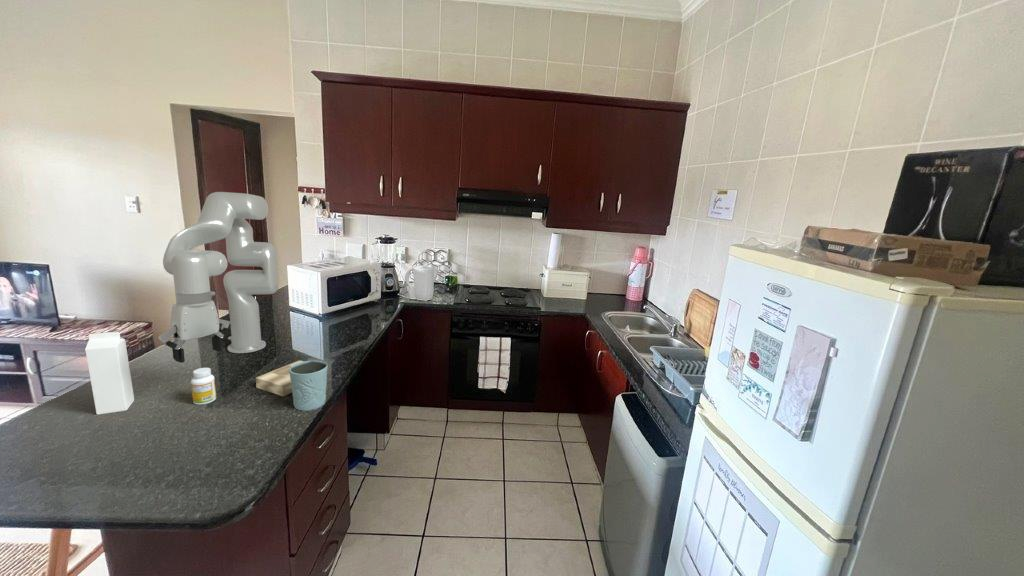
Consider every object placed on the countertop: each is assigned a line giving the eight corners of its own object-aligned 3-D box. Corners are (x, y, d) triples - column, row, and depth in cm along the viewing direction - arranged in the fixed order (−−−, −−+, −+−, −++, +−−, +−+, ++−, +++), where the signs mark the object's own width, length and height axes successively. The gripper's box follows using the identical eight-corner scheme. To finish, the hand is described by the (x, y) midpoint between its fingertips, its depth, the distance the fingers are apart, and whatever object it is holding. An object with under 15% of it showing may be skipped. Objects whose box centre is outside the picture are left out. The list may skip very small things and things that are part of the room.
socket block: (256, 387, 121) (255, 377, 120) (299, 369, 136) (299, 360, 135) (283, 396, 117) (282, 386, 116) (325, 376, 132) (324, 367, 131)
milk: (126, 410, 104) (115, 335, 99) (95, 415, 101) (82, 338, 96) (134, 400, 109) (124, 328, 105) (105, 404, 106) (93, 330, 102)
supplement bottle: (201, 395, 114) (198, 366, 112) (220, 396, 115) (217, 366, 113) (188, 405, 109) (184, 374, 107) (208, 405, 110) (205, 374, 107)
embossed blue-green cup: (290, 414, 108) (288, 376, 106) (291, 398, 117) (289, 362, 114) (329, 408, 113) (328, 371, 110) (328, 392, 122) (326, 358, 119)
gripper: (218, 291, 114) (222, 344, 118) (147, 302, 98) (154, 363, 102) (234, 294, 112) (239, 349, 115) (164, 306, 96) (172, 369, 99)
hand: (199, 355), depth 108 cm, fingers open, 9 cm apart
